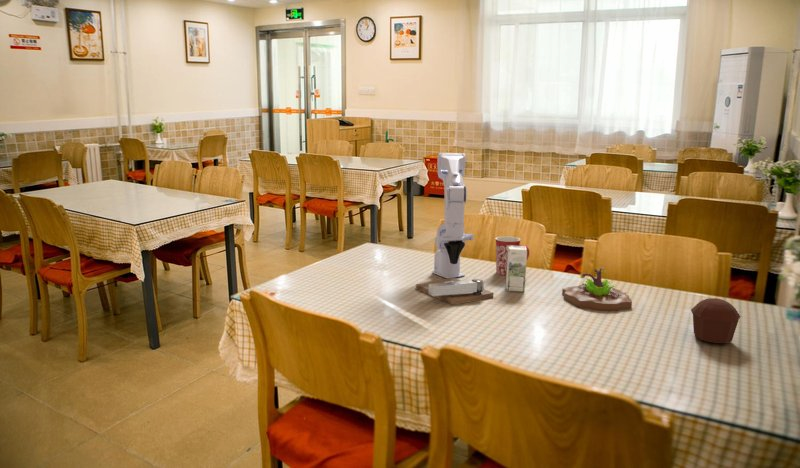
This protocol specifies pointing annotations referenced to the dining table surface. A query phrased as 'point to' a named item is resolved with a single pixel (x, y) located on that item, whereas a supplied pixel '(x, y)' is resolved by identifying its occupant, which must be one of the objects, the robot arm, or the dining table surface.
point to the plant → (597, 294)
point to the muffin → (715, 320)
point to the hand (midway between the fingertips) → (453, 263)
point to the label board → (456, 298)
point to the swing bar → (456, 287)
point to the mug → (505, 252)
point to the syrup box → (516, 268)
